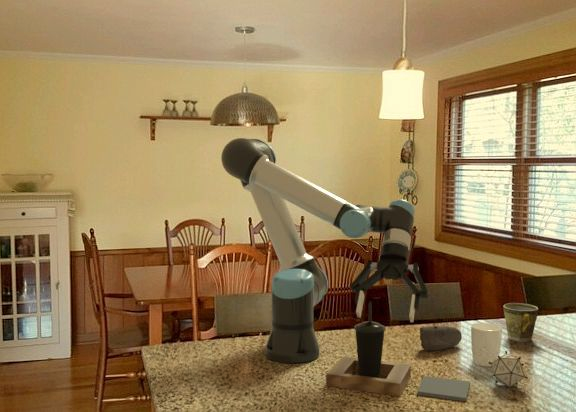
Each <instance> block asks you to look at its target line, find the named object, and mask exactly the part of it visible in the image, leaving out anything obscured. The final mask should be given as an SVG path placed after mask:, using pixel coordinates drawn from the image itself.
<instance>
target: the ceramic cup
mask: <svg viewBox="0 0 576 412" xmlns="http://www.w3.org/2000/svg"><path fill="white" fill-rule="evenodd" d="M538 312H539V308H538V306H536V305H533V304H529V303H522V302H521V303H519V302H510V303H509V302H508V303H505V304H504V305H503V314H504V318H505V319H504V320H505V327H506V334H507V337H508V339H510V341H515V342H520V343H521V342H522V343H528V342H530V341H532V340H533V337H534V336H533V335H534V331H535V327H536V322H537V319H538V314H539V313H538Z"/></svg>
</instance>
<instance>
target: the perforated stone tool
mask: <svg viewBox="0 0 576 412" xmlns="http://www.w3.org/2000/svg"><path fill="white" fill-rule="evenodd" d="M462 337H463V336H462V331H460V330H459V329H457V328H456V327H453V326H447V325H445V326H444V325H435V326H423V327H420V328H419V340H420V343H421V344H420V345H421V348H422V349H423V350H424V352H425V351H427V352H428V351H429V352H437V351H442V350H447V349H452V348H453V347H456V346H458V345H459V343H460V342H461V341H462Z"/></svg>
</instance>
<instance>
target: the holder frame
mask: <svg viewBox="0 0 576 412" xmlns="http://www.w3.org/2000/svg"><path fill="white" fill-rule="evenodd" d="M354 372H356V373H359V367H358V357H350V356H341V357H340V358H339V360H338V361H337V362H335V363H334V365H333V366H331V368H330V369H328V371H327V372H326V373H325V386H327V387H331V386H332V387H333V388H338V387H339V388H338V389H345V388H346V389H347V390H353V391H360V392H366V391H367V392H368V393H375V394H382V395H386V396H387V395H388V396H395V397H401V395H402V393H403V392H404V390H405V388H406V386H407V384H408V382H409V381H410V379H411V377H412V376H411V375H412V364H407V363H398V362H391V361H382V360H381V368H380V376H387V377H386V378H381V377H379V378H374V377H367V376H359V374H354Z"/></svg>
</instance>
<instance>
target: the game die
mask: <svg viewBox="0 0 576 412" xmlns="http://www.w3.org/2000/svg"><path fill="white" fill-rule="evenodd" d="M521 359H522V356H518V357H515V356H513V355H511V354H509V353H508V351H507V350H505V352H504V354H502V355H501V356H500V355H499V356H498V359H497V360H495V361H494V362H492V363H491V362H488V363H489V364H491V365H492V367H491V369H492V373H493V374H491V378H495V379H496V380H495V381H494V384H498V383H500V384H501V385H504V386H505V387H508V390H509V391H511V390H512V388H511V387H513V386H514V385H518V383H519V382H520V381H522V380H523V379H526V380H528V379H529V377H528V376H526V375H525V371H524V369H523V366H524V365H525V363H523V362H521V361H520V360H521Z"/></svg>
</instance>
